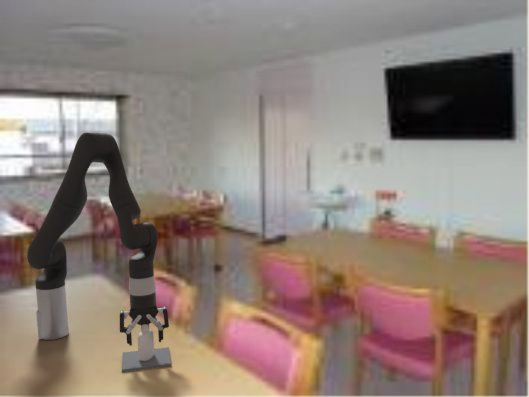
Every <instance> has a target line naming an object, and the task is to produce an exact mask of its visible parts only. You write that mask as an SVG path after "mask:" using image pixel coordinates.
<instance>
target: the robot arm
mask: <svg viewBox="0 0 529 397" xmlns="http://www.w3.org/2000/svg"><path fill="white" fill-rule="evenodd" d="M92 163H97V164H98V163H100V164H101V163H102V164H103V165H104V167H105V168H106V170H107V171H108V176H109V184H108V198H109V199H108V200H109V201H110V204H111V207H112V209H113V211H114V213H115V215H116V217H117V223H118V228H119V236H120V241H121V243H122V245H123V246H124V248H126V249H127V250H130V251H131V250H138V249H139V251H138V252H137V253H136V254H134V255H133V256H131V257H130V258H129V260H128V272H129V280H128V282H129V283H128V293H129V305H130V306H129V308H130V310H128V311H127V310H126V311H125V310H120V311H119V333H124V334H125V335H126V344H127V345H129V346H130V347H131V346H133V340H132V339H133V337H132V331H133V330H134V328H135V327H136V326H137V325H138V326H141V325H143V324H149V325H150V324H153V325H154V326H155V327H156V328H157V332H158V343H162V341H163V340H164V330H165V329H168V328H169V327H170V323H169V322H170V321H169V314H168V307H167V305H164V306H162V307H159V308H158V306H157V295H156V294H157V291H156V289H157V288H156V279H155V270H154V260H155V256H156V251H157V246H158V241H159V234H158V229H157V227H156V226H155V225H154V224H153V223H151V222H141V223H136V224H134V223H133V221H135V220H136V219H138V218H139V217H140V215H141V213H142V212H141V211H142V210H141V208H140V205H139V203H138V200H137V198H136V196H135V195H134V193H133V190H132V188H131V186H130V183H129V180H128V177H127V173H126V169H125V165H124V163H123V158H122V155H121V152H120V148H119V146H118V142H117V140H116V139H115V137H114V136H113V135H112V134H109V133H107V132H99V131H85V132H83V133H82V134H80V136H79V137H78V139H77V141H76V143H75V146H74V149H73V152H72V154H71V158H70V161H69V164H68V167H67V170H66V171H65V174H64V176H63V179H62V181H61V183H60V186H59V188H58V190H57V192H56V194H55V196H54V198H53V201H52V202H51V205H50V207H49V210H48V212H47V214H46V216H45V218H44V220H43V222H42V224H41V226H40V228H39V229H38V232H37V233H36V234H35V236H34V238H33V240H32V241H31V243H30V245H29V247H28V249H27V254H26V257H27V258H26V259H27V262H28V264H29V266H30V267H31V268H33V269H35V270H42V272H41V274H40V275H39V276H37V278H36V279H35V281H34V282H35V285H34V286H35V295H36V308H37V310H36V313H35V314H36V324H37V325H36V326H37V335H38V336H37V337H38V338H37V339H38V340H45V341H53V340H58V339H61V338H64V337H66V336H68V335H69V333H70V330H69V317H68V316H69V315H68V304H67V292H66V278H67V275H68V267H67V266H68V265H67V264H68V263H67V262H68V261H67V260H68V259H67V248H66V245H65V244H64V242H63V241H62V239H60V238H61V237H62V235H64V233H65V232H66V231H67V230H68V229H70V227H72V226H73V225H74V223H75V222H76V221H77V220H78V218H79V217H80V216H81V213H82V212H83V210H84V208H85V205H86V203H87V201H88V189H87V184H86V176H87V174H88V171H89V168H90V166H91V165H92ZM158 314H160V315H161V316H163V322H162V323H161V321H159V319H158V318H157V316H158ZM128 316H129V317H130V319H131V321H130V322H129V324H128V326H127V327H126V326H125V320H127V318H128Z"/></svg>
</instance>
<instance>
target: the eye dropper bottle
mask: <svg viewBox="0 0 529 397" xmlns="http://www.w3.org/2000/svg"><path fill="white" fill-rule="evenodd" d="M140 330H141V331H140V332H139V333H138V336H137V349H138V350H137V351H138V355H139V360H140V361H147V360H149V359H151V358H152V357H153V356H154V349H155V342H154V336H155V335H154V331H153V330H152V329H150V324H143V325H140Z"/></svg>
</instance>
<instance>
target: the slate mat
mask: <svg viewBox="0 0 529 397" xmlns="http://www.w3.org/2000/svg"><path fill="white" fill-rule="evenodd" d="M170 355H171V354H170V347H159V348H154V356H153V357H152V358H151V359H149V360H147V361H140V360H139V355H138V350H132V351H125V352H122V355H121V356H122V357H121V358H122V359H121V373H126V371H128V372H134V371H135V370H136V371H144V370H151V369H152V368H153V369H160V367H161V368H168V367H169V368H170V367H172V360H171V356H170ZM143 369H144V370H143Z"/></svg>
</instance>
